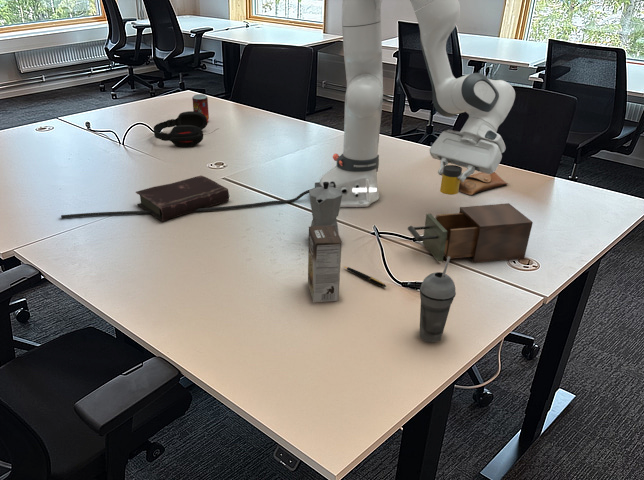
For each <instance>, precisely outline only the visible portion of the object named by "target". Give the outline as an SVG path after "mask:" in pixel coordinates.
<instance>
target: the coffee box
mask: <svg viewBox="0 0 644 480" xmlns="http://www.w3.org/2000/svg"><path fill="white" fill-rule="evenodd" d="M338 233H339V231H338V232H337V230H336V228H335V226H334V225H332V226H311V225H310V226H308V238H309V240H308V246H307V247H308V248H307V249H308V250H307V256H308V257H307V259H308V260H307V286H308V288H309V289H308V290H309V292H310V295H311V299H312V302H313V303H325V302H326V303H327V302H329V303H330V302H338V301H339V296H340V295H339V294H340V280H341V279H340V278H341V266H342V265H341V264H342V263H341V262H342V248H343V245H342V244H343V240H342V239H341V236H340V235H338Z"/></svg>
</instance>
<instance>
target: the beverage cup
mask: <svg viewBox="0 0 644 480" xmlns="http://www.w3.org/2000/svg"><path fill="white" fill-rule="evenodd" d="M450 260H451V259H450V256H448V258H447V259H446V261H445V265H444V268H443V271H442V272H441V271H435V272H432V273H429V274H428V275H427V276H426V277H424V279H423V280H422V282H421V285H420V288H419V298H420V309H419V311H420V312H419V338H420V339H421V340H422V341H424V342H425V343H432V344H433V343H438V342H440V341H441V339H442V336H443V334H444V330H445V327H446V322H447V320H448V317H449V313H450V309H451V305H452V304H453V301H454V299H455V297H456V295H457V292H456V284H455V282H454V280H453V278H452V277H451V276H450V275H448V274H447V269H448V267H449V264H450Z"/></svg>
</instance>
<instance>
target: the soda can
mask: <svg viewBox="0 0 644 480" xmlns="http://www.w3.org/2000/svg"><path fill="white" fill-rule="evenodd" d="M191 100H192V111H195V112H199V113H202V114H203V115H205V116H206V117H207V120H208V121H209V118H210V113H209V101H208V96H207V95H206V94H203V93H200V94H194V95H193V96H192V99H191Z"/></svg>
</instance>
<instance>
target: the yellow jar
mask: <svg viewBox="0 0 644 480" xmlns="http://www.w3.org/2000/svg"><path fill="white" fill-rule="evenodd" d="M462 171H463V167H462V166H458V165H455V164H448V165H445V166H444V168H443V175H441V180H440V188H439V192H440V193H441V194H444V195H447V196H454V195H457V194H458V193H459V191H458V190H459V184H460V181H458V179H457V177H458V176H459V174H460V173H463V172H462Z"/></svg>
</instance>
